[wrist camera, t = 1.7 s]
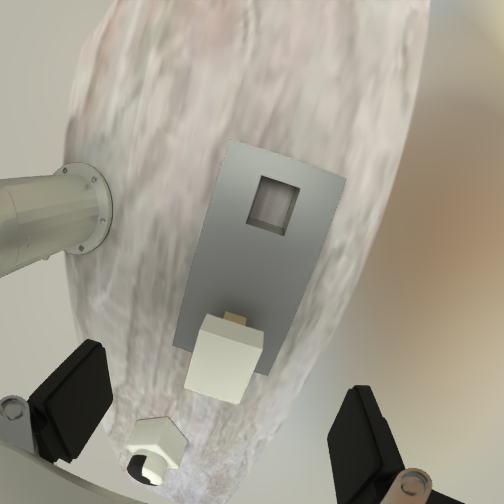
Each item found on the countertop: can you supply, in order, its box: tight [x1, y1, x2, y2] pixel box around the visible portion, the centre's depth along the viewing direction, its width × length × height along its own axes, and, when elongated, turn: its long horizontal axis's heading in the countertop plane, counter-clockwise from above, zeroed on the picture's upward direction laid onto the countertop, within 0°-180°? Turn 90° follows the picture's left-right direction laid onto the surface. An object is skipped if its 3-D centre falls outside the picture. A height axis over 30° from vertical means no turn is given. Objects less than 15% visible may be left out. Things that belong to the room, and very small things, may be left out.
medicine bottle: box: [125, 417, 187, 486], centre depth 38 cm, size 7×7×12 cm
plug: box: [184, 311, 264, 405], centre depth 28 cm, size 7×5×8 cm
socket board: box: [173, 139, 346, 376], centre depth 32 cm, size 24×12×5 cm, turn 162°
